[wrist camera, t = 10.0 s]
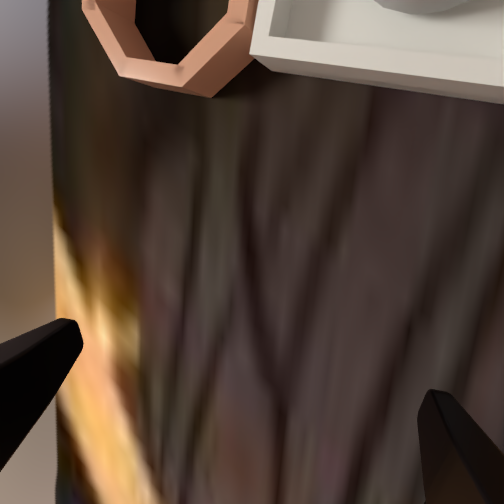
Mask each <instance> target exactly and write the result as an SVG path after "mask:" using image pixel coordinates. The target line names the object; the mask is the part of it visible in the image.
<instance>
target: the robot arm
mask: <svg viewBox="0 0 504 504" xmlns="http://www.w3.org/2000/svg"><path fill="white" fill-rule="evenodd" d="M82 349H83V339H82V335H81V332H80V329H79V326H78V323H77V322H76V321H75V320H71V319H66V318H59V319H57V320H55V321H52V322H50V323H48V324H45V325H43V326H41V327H38V328H36V329H34V330H31V331H29V332H27V333H24V334H22V335H20V336H18V337H16V338H13V339H11V340H8V341H6V342H3V343H1V344H0V472H1V470H2V469H3V468H4V466H5V464H6V463H7V462H8V461H9V459H10V458H11V457H12V455H13V454H14V452H15V451H16V449H17V448H18V447H19V445H20V444H21V443H22V441H23V440H24V439H25V437H26V436H27V434H28V433H29V432H30V430H31V429H32V428H33V426H34V425H35V423H36V422H37V421H38V419H39V418H40V417H41V415H42V414H43V412H44V411H45V410H46V408H47V406H48V405H49V404H50V402H51V401H52V399H53V398H54V396H55V394H56V393H57V391H58V390H59V388H60V386H61V385H62V383H63V381H64V380H65V378H66V376H67V374H68V373H69V371H70V369H71V368H72V366H73V364H74V363H75V361H76V359H77V358H78V356H79V354H80V353H81V351H82ZM417 423H418V433H419V443H420V453H421V463H422V473H423V482H424V491H425V498H426V501H425V503H424V504H504V454H503V453H502V452H501V451H500V449H499V448H498V447H497V446H496V445H495V444H494V443H493V441H492V440H491V439H490V438H489V437H488V436H487V435H486V433H485V432H484V431H483V430H482V429H481V428H480V427H479V425H478V424H477V423H476V422H475V421H474V420H473V419H472V417H471V416H470V415H469V414H468V413H467V412H466V411H465V409H464V408H463V407H462V406H461V405H460V404H459V403H458V401H457V400H456V399H455V398H454V397H453V396H452V395H451V394H450V393H448V392H444V391H439V390H434V389H430V390H428V391H427V393H426V395H425V397H424V399H423V402H422V404H421V406H420V409H419V411H418V417H417Z"/></svg>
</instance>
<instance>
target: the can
mask: <svg viewBox="0 0 504 504" xmlns="http://www.w3.org/2000/svg"><path fill="white" fill-rule="evenodd" d="M374 1H375V2H377V3H378V4H379V5H381V6H382V7H383V8H387V9H391V10H395V11H399V12H403V13H407V14H411V15H412V14H421V13H431V12H440V11H445V10H447V9H450V8H452V7H455V6H457V5H459V4H462V3H464V2H467V1H469V0H374Z"/></svg>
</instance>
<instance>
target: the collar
mask: <svg viewBox="0 0 504 504" xmlns="http://www.w3.org/2000/svg"><path fill="white" fill-rule="evenodd" d="M258 2H259V0H229V5H228V12H227V14H226V15H225V16H224V17H223V18H222V19H221V20H220V21H219V22H218V23H217V24H216V25H215V26H214V27H213V28H212V29H211V31H210V32H209V33H208V34H207V35H206V36H205V37H204V38H203V39H202V40H201V41H200V42H199V43H198V44H197V45H196V46H195V47H194V48H193V49H192V50H191V51H190V53H189V54H188V55H187V56H186V57H185V58H184V59H183V60H182V61H181V62H180V63H179V64H178V65H175V64H169V63H162V62H156V61H155V59H154V57H153V55H152V53H151V52H150V50H149V48H148V46H147V45H146V43H145V41H144V39H143V37H142V36H141V34H140V32H139V30H138V28H137V27H136V25H135V10H136V0H82V10H83V12H84V14H85V16H86V17H87V19H88V21H89V23H90V25H91V26H92V28H93V30H94V32H95V33H96V35H97V37H98V39H99V41H100V42H101V44H102V46H103V48H104V49H105V51H106V53H107V55H108V57H109V58H110V60H111V62H112V64H113V65H114V67H115V69H116V71H117V73H118V74H119V76H121V77H124V78H127V79H130V80H133V81H136V82H139V83H142V84H146V85H149V86H152V87H155V88H160V89H165V90H171V91H176V92H182V93H187V94H192V95H198V96H203V97H208V98H212V97H213V96H214V95H215V94H216V93H217V92H218V91H219V90H221V89H222V88H223V87H224V86H225V85H226V84H227V83H228V82H229V81H230V80H232V79H233V78H234V77H235V76H236V75H237V74H238V73H239V72H240V71H241V70H243V69H244V68H245V67H246V66H247V65H248V64H249V63H250V62H251V61H252V60H253V59H255V58H254V57H252V56H251V55H250V54H249V53H250V47H251V41H252V36H253V30H254V24H255V19H256V13H257V7H258Z"/></svg>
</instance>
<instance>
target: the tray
mask: <svg viewBox="0 0 504 504" xmlns="http://www.w3.org/2000/svg"><path fill="white" fill-rule="evenodd" d="M249 54H250V55H251V56H252V57H254V58H255V59H256V60H258V61H259V62H260V63H262V64H263V65H264V66H266V67H267V68H268V69H270V70H271V71H275V72H282V73H289V74H296V75H303V76H310V77H317V78H324V79H331V80H338V81H345V82H352V83H359V84H366V85H373V86H379V87H386V88H393V89H400V90H407V91H414V92H421V93H428V94H435V95H442V96H449V97H456V98H463V99H470V100H477V101H484V102H491V103H498V104H504V0H469V1H467V2H464V3H462V4H459V5H457V6H455V7H452V8H450V9H447V10H445V11H440V12H431V13H421V14H412V15H411V14H407V13H403V12H399V11H395V10H391V9H387V8H383V7H382V6H381V5H379V4H378V3H377V2H375V1H374V0H259V2H258V7H257V13H256V19H255V24H254V30H253V36H252V41H251V47H250V53H249Z"/></svg>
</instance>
